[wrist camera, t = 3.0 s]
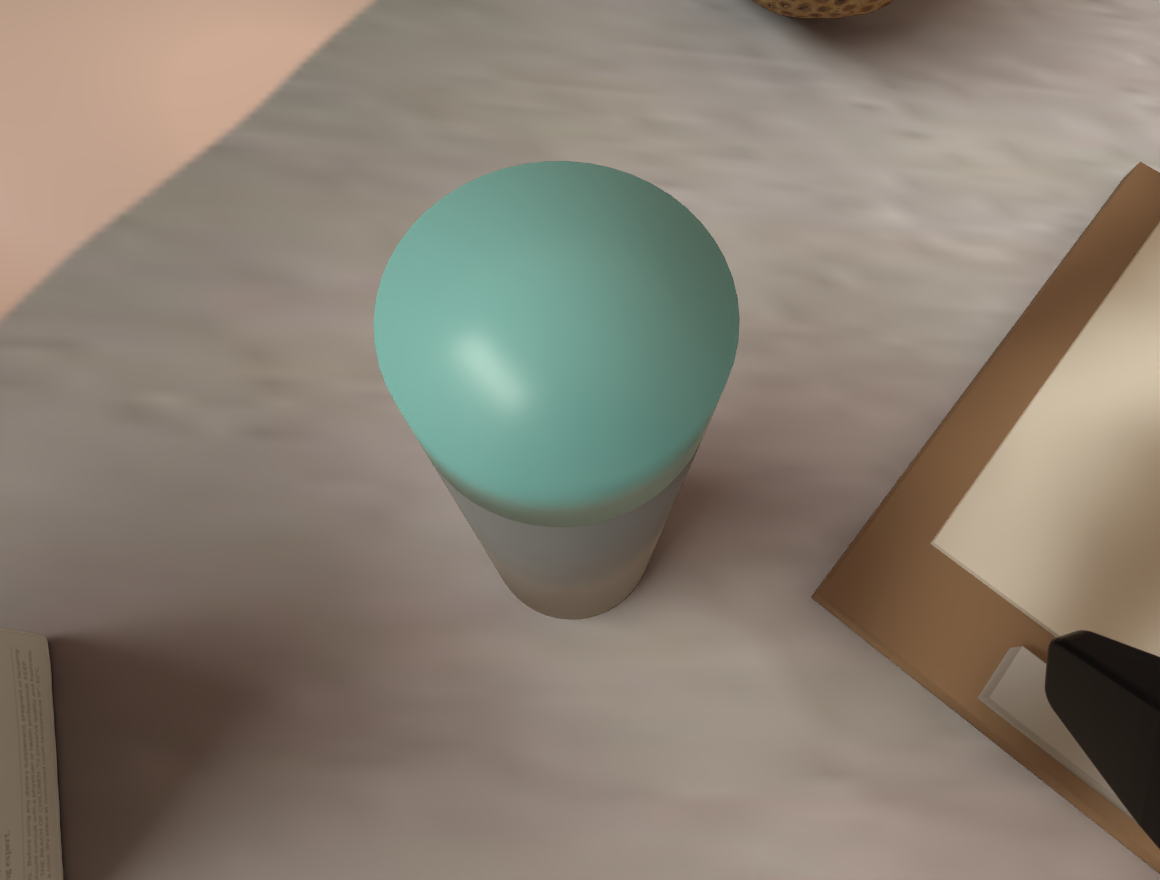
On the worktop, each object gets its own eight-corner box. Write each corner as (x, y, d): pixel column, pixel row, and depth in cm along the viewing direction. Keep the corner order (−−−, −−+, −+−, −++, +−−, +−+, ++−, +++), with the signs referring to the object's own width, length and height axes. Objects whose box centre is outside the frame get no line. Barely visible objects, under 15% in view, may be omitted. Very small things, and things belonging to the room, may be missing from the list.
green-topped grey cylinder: (682, 530, 22) (812, 292, 9) (581, 654, 21) (576, 567, 8) (563, 434, 23) (540, 105, 10) (460, 547, 21) (296, 329, 9)
